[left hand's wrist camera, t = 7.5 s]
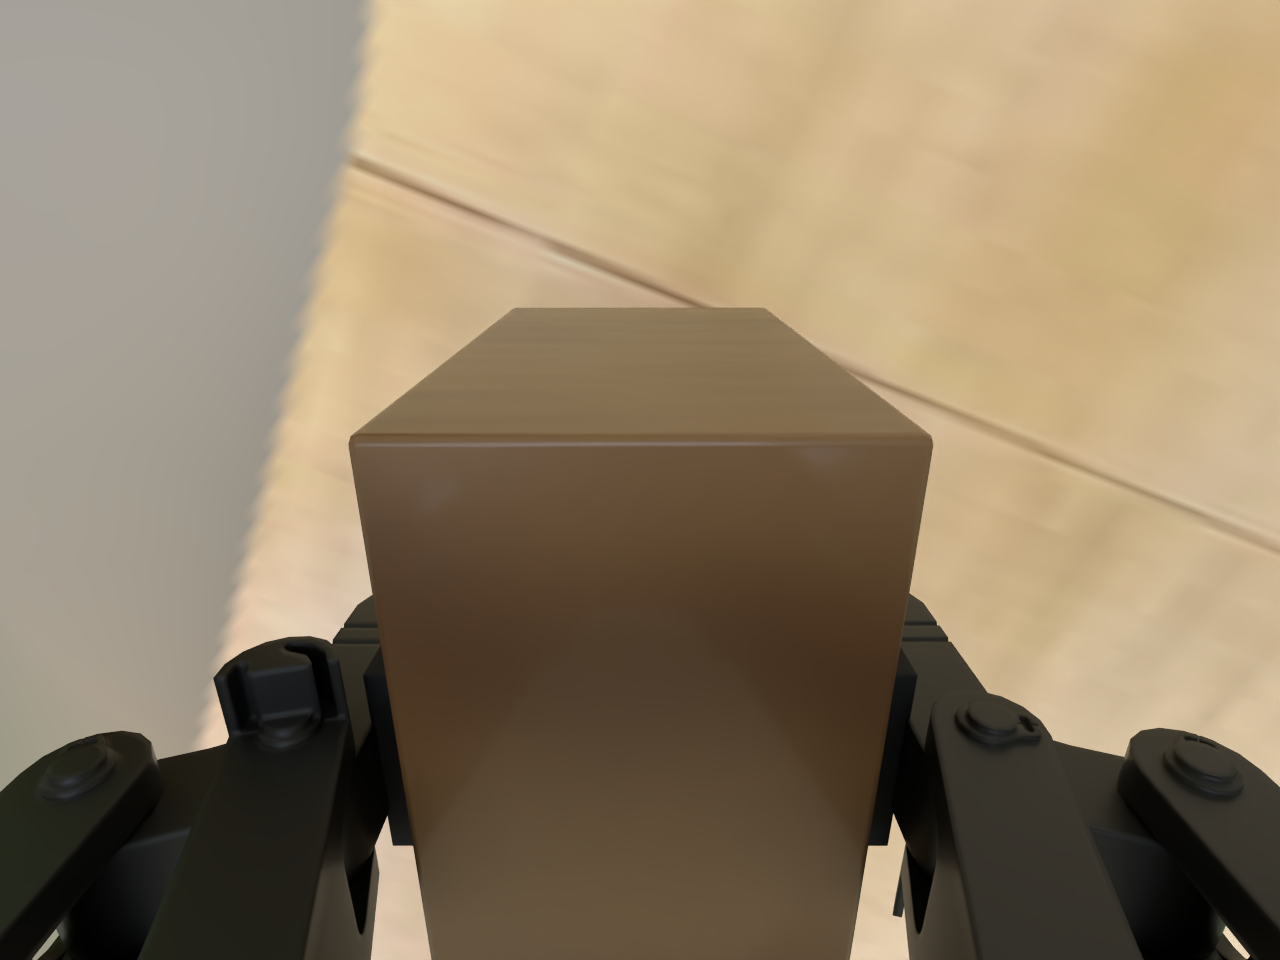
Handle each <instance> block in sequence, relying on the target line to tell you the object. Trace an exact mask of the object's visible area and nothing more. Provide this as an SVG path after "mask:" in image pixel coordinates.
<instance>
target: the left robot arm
mask: <svg viewBox="0 0 1280 960" xmlns="http://www.w3.org/2000/svg"><path fill="white" fill-rule="evenodd" d="M213 679H214V683H215V686H216V690H217V693H218V697H219V701H220V704H221V708H222V712H223V715H224V719H225V723H226V726H227V730H228V734H229V738H228V741H227V743H226V744H223V745H220V746H216V747H213V748H209V749H205V750H200V751H196V752H191V753H186V754H182V755H177V756H173V757H168V758H164V759H159V760H157V759H156V756H155V753H154V750H153V746H152V743H151V742H150V741H149V740H148V739H147V738H145V737H144V736H143V735H142V734H140V733H133V732H127V731H117V732H110V733H102V734H96V735H93V736H89V737H85V738H84V739H79V740H76V741H74V742H71V743H69V744H67V745H65V746H63V747H61V748H59V749H57V750H55V751H53V752H51V753H49V754H47V755H45V756H43V757H42V758H41V759H39V760H38V761H37V762H35V763H34V764H32V765H31V766H30V767H28V768H27V769H26V770H24V771H23V772H22V773H20V774H19V775H18V776H17V777H16V778H15V779H14V780H13V781H12V782H11V783H10V784H9V785H7V786H6V787H5V788H4V789H3V790H2V791H1V792H0V960H32V958H33V957H34V956H35V954H36V953H37V952H38V951H39V949H40V948H41V947H42V946H43V944H44V943H45V942H46V941H47V939H48V938H49V937H50V935H51V934H52V933H53V932H54V930H55V929H57V932H58V934H59V936H58V937H57V939H56V940H55V941H54V943H53V944H52V945H51V946H50V948H49V949H48V950H47V951H46V952H45V953H44V954H43V955H42V956H41V957H40V958H39V959H38V960H371V951H372V941H373V931H374V921H375V911H376V901H377V891H378V881H379V868H378V861H377V855H376V850H375V844H376V841H377V839H378V837H379V834H380V832H381V829H382V827H383V825H384V822H385V820H386V817H387V815H388V820H389V826H390V832H391V837H392V843H393V846H413V841H412V834H411V828H410V822H409V816H408V810H407V804H406V797H405V791H404V785H403V779H402V773H401V766H400V760H399V754H398V748H397V742H396V735H395V729H394V723H393V717H392V711H391V705H390V698H389V692H388V686H387V680H386V674H385V667H384V661H383V655H382V649H381V643H380V636H379V630H378V624H377V618H376V612H375V606H374V599H373V595H372V596H370V597H369V598H367V599H366V600H364V601H363V602H361V603H360V604H358V605H357V607H356V608H355V610H354V611H353V612H352V614H351V615H350V617H349V618H348V619H347V621H346V622H345V624H344V628H341V629H340V631H339V632H338V633H337V635H336V636H335V638H334V639H333V644H331V643H330V642H328V641H327V640H324V639H320V638H315V637H311V636H304V637H287V638H282V639H278V640H274V641H269V642H265V643H263V644H260V645H258V646H256V647H253V648H251V649H248V650H246V651H244V652H242V653H241V654H239V655H238V656H236V657H235V658H233V659H232V660H230V661H229V662H227V663H226V664H225V665H224V666H223V667H222V668H221V669H220V671H219V672H218V673H217V674H216V676H215V677H214V678H213ZM893 813H894V815H895V818H896V820H897V823H898V825H899V827H900V830H901V832H902V835H903V837H904V839H905V842H906V845H905V850H904V855H903V861H902V866H901V871H900V876H899V882H898V887H897V892H896V897H895V903H894V910H893V915H894V916H898V917H902V914H903V909H905V919H906V929H907V939H908V949H909V959H910V960H1280V787H1279V786H1278V785H1277V784H1276V783H1275V782H1274V781H1272V780H1271V779H1270V778H1269V777H1268V776H1267V775H1266V774H1265V773H1264V772H1263V771H1261V770H1260V769H1259V768H1257V767H1256V766H1255V765H1253V764H1252V763H1251V762H1249V761H1248V760H1247V759H1245V758H1244V757H1243V756H1241V755H1240V754H1238V753H1236V752H1234V751H1232V750H1231V749H1229V748H1227V747H1225V746H1223V745H1221V744H1219V743H1217V742H1215V741H1213V740H1211V739H1208V738H1205V737H1202V736H1198V735H1196V734H1192V733H1188V732H1185V731H1179V730H1172V729H1164V728H1156V729H1149V730H1142V731H1140V732H1139V733H1137V734H1136V735H1135V736H1134V737H1133V738H1131V739H1130V742H1129V745H1128V748H1127V751H1126V754H1125V757H1121V756H1117V755H1112V754H1107V753H1103V752H1098V751H1094V750H1089V749H1084V748H1080V747H1075V746H1071V745H1067V744H1064V743H1060V742H1057V741H1053V739H1052V737H1051V735H1050V733H1049V732H1048V731H1047V729H1046V728H1045V726H1044V725H1043V723H1042V722H1041V721H1040V720H1039V719H1038V718H1037V717H1035V716H1034V715H1033V714H1032V713H1030V712H1029V711H1028V710H1026V709H1025V708H1024V707H1022V706H1020V705H1018V704H1016V703H1014V702H1012V701H1010V700H1008V699H1006V698H1003V697H1001V696H997V695H993V694H989V693H987V691H986V690H985V689H984V687H983V686H982V684H981V683H980V682H979V680H978V679H977V677H976V676H975V675H974V673H973V672H972V670H971V669H970V668H969V666H968V665H967V663H966V662H965V661H964V659H963V658H962V656H961V655H960V654H959V652H958V651H957V649H956V648H955V647H954V645H953V644H952V643H951V642H948V637H947V636H946V634H945V633H944V631H943V630H942V629H941V627H940V626H937V622H936V620H935V619H934V617H933V616H932V615H931V613H930V612H929V610H928V609H927V608H926V606H925V605H924V603H923V602H921V601H920V600H918V599H917V598H915V597H914V596H912V595H911V594H909V597H908V603H907V609H906V615H905V621H904V628H903V634H902V640H901V646H900V652H899V658H898V665H897V671H896V677H895V683H894V689H893V695H892V702H891V708H890V714H889V720H888V726H887V732H886V738H885V745H884V751H883V757H882V763H881V769H880V775H879V782H878V788H877V794H876V800H875V806H874V812H873V819H872V825H871V831H870V837H869V843H868V846H887V845H888V840H889V834H890V828H891V823H892V817H893ZM1225 926H1227V927H1228V928H1229V930H1230V931H1231V932H1232V933H1233V935H1234V936H1235V937H1236V938H1237V940H1238V941H1239V942H1240V943H1241V945H1242V946H1243V947H1244V948H1245V950H1246V951H1247V952H1248V953H1249V955H1250V957H1249V958H1248V959H1246V958H1244V957H1243V956H1242V955H1241V954H1240V953H1239V952H1238V951H1237V950H1236V949H1235V948H1234V947H1233V945H1232V944H1231V943H1230V942H1229V940H1228V939H1227V938H1226V937H1225V935H1224V934H1223V931H1224V929H1225Z"/></svg>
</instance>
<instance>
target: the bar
mask: <svg viewBox="0 0 1280 960" xmlns="http://www.w3.org/2000/svg"><path fill="white" fill-rule="evenodd" d="M932 449H933V441H932V438H931V435H929V434H928V433H927V432H926V431H924V430H923V429H922V428H920V427H919V426H918V425H916V424H915V423H914V422H912V421H911V420H910V419H909V418H907V417H906V416H905V415H903V414H902V413H901V412H899V411H898V410H897V409H896V408H894V407H893V406H892V405H890V404H889V403H888V402H886V401H885V400H884V399H883V398H881V397H880V396H879V395H877V394H876V393H875V392H873V391H872V390H871V389H870V388H868V387H867V386H866V385H864V384H863V383H862V382H860V381H859V380H858V379H857V378H855V377H854V376H853V375H851V374H850V373H849V372H847V371H846V370H845V369H843V368H842V367H841V366H840V365H838V364H837V363H836V362H834V361H833V360H832V359H830V358H829V357H828V356H827V355H825V354H824V353H823V352H821V351H820V350H819V349H817V348H816V347H815V346H814V345H812V344H811V343H810V342H808V341H807V340H806V339H804V338H803V337H802V336H801V335H799V334H798V333H797V332H795V331H794V330H793V329H791V328H790V327H789V326H787V325H786V324H785V323H784V322H782V321H781V320H780V319H778V318H777V317H776V316H774V315H773V314H772V313H771V312H769V311H768V310H767V309H764V308H515V309H513V310H511V311H510V312H509V313H507V314H506V315H505V316H504V317H502V318H501V319H500V320H498V321H497V322H496V323H495V324H493V325H492V326H491V327H490V328H488V329H487V330H486V331H484V332H483V333H482V334H481V335H479V336H478V337H477V338H475V339H474V340H473V341H472V342H470V343H469V344H468V345H467V346H465V347H464V348H463V349H461V350H460V351H459V352H458V353H456V354H455V355H454V356H452V357H451V358H450V359H449V360H447V361H446V362H445V363H444V364H442V365H441V366H440V367H438V368H437V369H436V370H435V371H433V372H432V373H431V374H429V375H428V376H427V377H426V378H424V379H423V380H422V381H421V382H419V383H418V384H417V385H415V386H414V387H413V388H412V389H410V390H409V391H408V392H406V393H405V394H404V395H403V396H401V397H400V398H399V399H398V400H396V401H395V402H394V403H392V404H391V405H390V406H389V407H387V408H386V409H385V410H383V411H382V412H381V413H380V414H378V415H377V416H376V417H375V418H373V419H372V420H371V421H369V422H368V423H367V424H366V425H364V426H363V427H362V428H361V429H359V430H358V431H357V432H355V433H354V434H353V435H352V436H351V437H350V441H349V451H350V457H351V463H352V469H353V476H354V482H355V488H356V494H357V500H358V507H359V513H360V519H361V525H362V531H363V537H364V544H365V550H366V556H367V562H368V568H369V575H370V581H371V587H372V593H373V599H374V606H375V612H376V618H377V624H378V630H379V636H380V643H381V649H382V655H383V661H384V667H385V674H386V680H387V686H388V692H389V698H390V705H391V711H392V717H393V723H394V729H395V735H396V742H397V748H398V754H399V760H400V766H401V773H402V779H403V785H404V791H405V797H406V804H407V810H408V816H409V822H410V828H411V834H412V841H413V847H414V853H415V859H416V865H417V872H418V878H419V884H420V890H421V896H422V903H423V909H424V915H425V921H426V927H427V933H428V940H429V946H430V952H431V958H432V960H850V954H851V948H852V942H853V936H854V929H855V923H856V917H857V911H858V905H859V899H860V892H861V886H862V880H863V874H864V868H865V862H866V856H867V849H868V843H869V837H870V831H871V825H872V819H873V812H874V806H875V800H876V794H877V788H878V782H879V775H880V769H881V763H882V757H883V751H884V745H885V738H886V732H887V726H888V720H889V714H890V708H891V702H892V695H893V689H894V683H895V677H896V671H897V665H898V658H899V652H900V646H901V640H902V634H903V628H904V621H905V615H906V609H907V603H908V597H909V591H910V585H911V578H912V572H913V566H914V560H915V554H916V548H917V541H918V535H919V529H920V523H921V517H922V511H923V504H924V498H925V492H926V486H927V480H928V474H929V467H930V461H931V455H932Z"/></svg>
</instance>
